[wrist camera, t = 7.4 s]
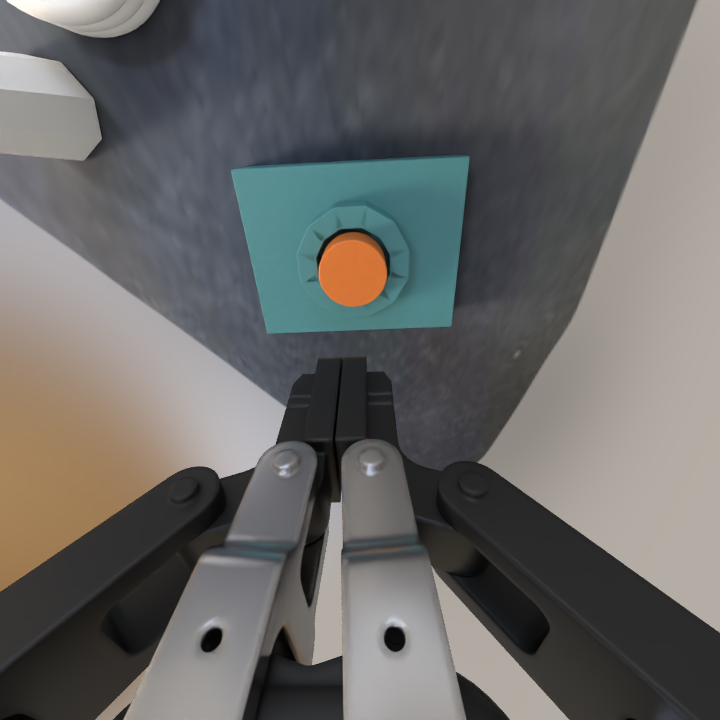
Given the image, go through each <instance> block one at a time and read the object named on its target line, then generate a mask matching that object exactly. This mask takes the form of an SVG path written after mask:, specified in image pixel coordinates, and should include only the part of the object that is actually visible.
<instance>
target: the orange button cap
mask: <svg viewBox="0 0 720 720" xmlns="http://www.w3.org/2000/svg"><path fill="white" fill-rule="evenodd" d="M318 273H319V281H320V284H321V286H322V288H323V290H324V292H325V293H326V294H327V295H328V296H329V297H330V298H331V299H332V300H333V301H335V302H337V303H338V304H341V305H344V306H349V307H358V306H363V305H366V304H368V303H370V302H372V301H373V300H375V299H376V298H377V297H378V296H379V295H380V294H381V292H382V291H383V289H384V287H385V284H386V280H387V267H386V261H385V256H384V253H383V251H382V249H381V247H380V246H379V244H378V243H377V242H376V241H375V240H374V239H373V238H371V237H370V236H368V235H366V234H363V233H359V232H347V233H344V234H341V235H339V236H337V237H335V238H334V239H333V240H332V241H331V242H330V243H329V244H328V245H327V247H326V249H325V251H324V253H323V256H322V259H321V261H320V265H319V272H318Z"/></svg>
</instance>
